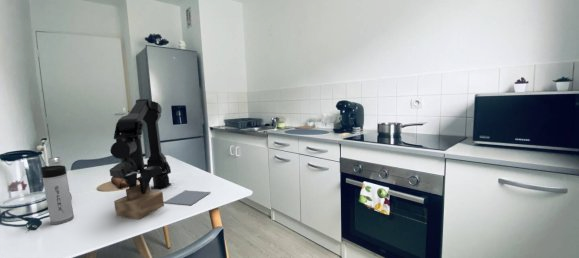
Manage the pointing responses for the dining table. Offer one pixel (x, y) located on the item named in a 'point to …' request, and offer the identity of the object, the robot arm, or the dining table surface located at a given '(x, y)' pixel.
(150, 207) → the cover
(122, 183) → the brown slipper
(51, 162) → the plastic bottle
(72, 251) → the dining table surface
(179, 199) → the mat
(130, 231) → the dining table surface
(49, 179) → the travel mug
